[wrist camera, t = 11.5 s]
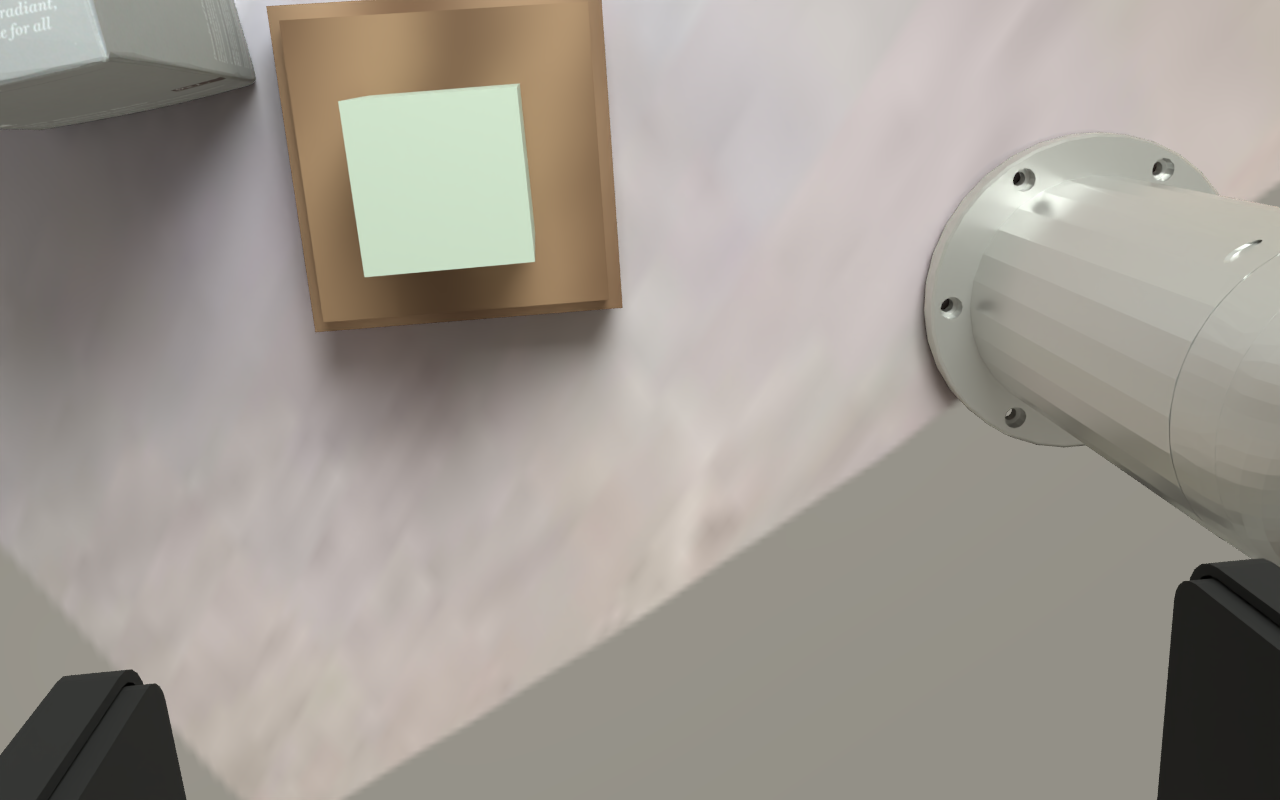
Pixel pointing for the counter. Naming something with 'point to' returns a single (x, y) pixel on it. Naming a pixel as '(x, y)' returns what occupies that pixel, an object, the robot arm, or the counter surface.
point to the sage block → (439, 179)
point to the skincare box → (114, 57)
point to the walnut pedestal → (436, 60)
